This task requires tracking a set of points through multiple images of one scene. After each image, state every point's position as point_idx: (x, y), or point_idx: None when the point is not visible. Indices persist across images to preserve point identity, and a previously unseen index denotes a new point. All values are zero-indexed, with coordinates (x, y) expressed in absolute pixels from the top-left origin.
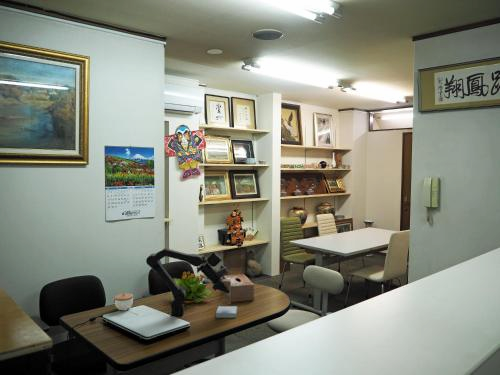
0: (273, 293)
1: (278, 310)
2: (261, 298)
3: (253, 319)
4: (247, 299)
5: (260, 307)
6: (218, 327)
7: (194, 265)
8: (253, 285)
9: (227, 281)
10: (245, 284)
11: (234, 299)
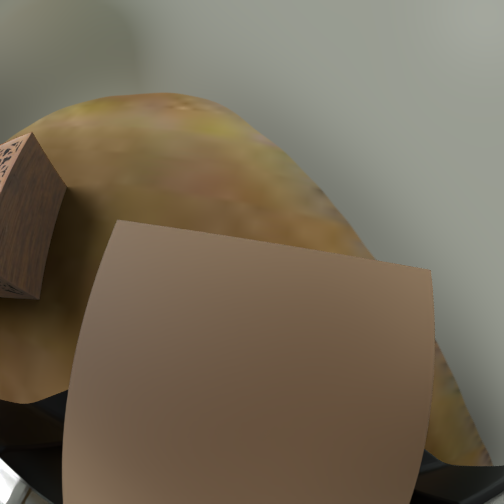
0: (57, 122)
1: (244, 121)
2: (72, 157)
3: (352, 237)
4: (55, 212)
5: (178, 171)
6: (432, 424)
7: None
8: (33, 137)
9: (428, 389)
10: (3, 171)
11: (35, 278)
